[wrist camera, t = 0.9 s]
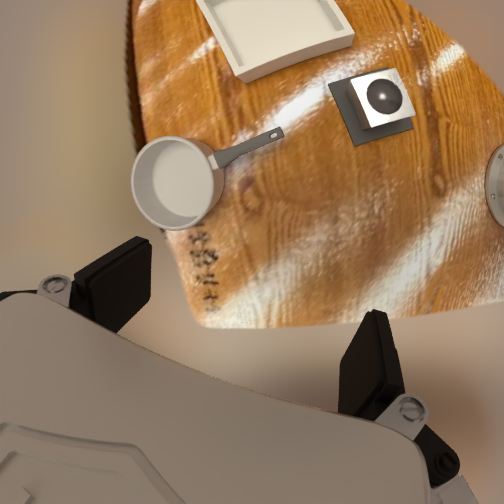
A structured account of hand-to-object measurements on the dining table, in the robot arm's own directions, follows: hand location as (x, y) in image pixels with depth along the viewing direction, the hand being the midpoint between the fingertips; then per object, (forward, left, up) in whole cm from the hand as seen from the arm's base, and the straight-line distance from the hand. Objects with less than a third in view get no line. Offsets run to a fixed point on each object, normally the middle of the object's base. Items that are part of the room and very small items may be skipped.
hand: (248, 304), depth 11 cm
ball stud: (-12, -7, -25) cm, 29 cm away
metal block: (-12, -7, -24) cm, 28 cm away
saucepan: (+8, -7, -25) cm, 28 cm away
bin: (-6, -22, -25) cm, 34 cm away
